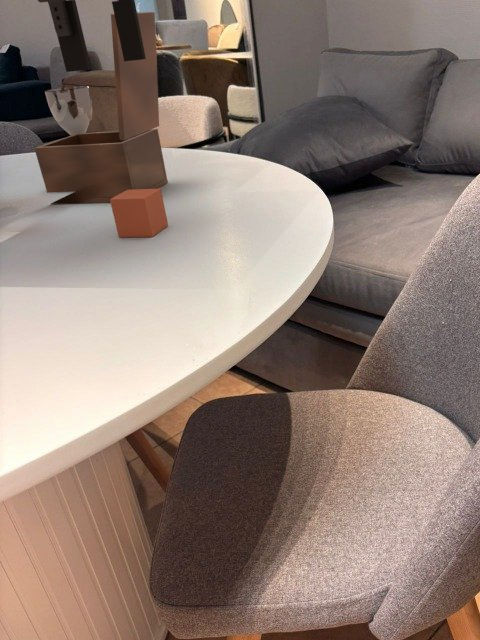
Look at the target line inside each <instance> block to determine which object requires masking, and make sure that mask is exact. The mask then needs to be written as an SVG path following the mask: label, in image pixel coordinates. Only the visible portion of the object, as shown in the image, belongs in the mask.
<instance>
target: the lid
mask: <svg viewBox="0 0 480 640" xmlns="http://www.w3.org/2000/svg"><path fill="white" fill-rule="evenodd" d="M137 16H138V21H139V26H140V31H141V36H142V41H143V46H144V52H145V57H146V59H143V60H133V61H124V58H123V53H122V48H121V44H120V39H119V34H118V29H117V25H116V20H115V15H114V13H110V23H111V36H112V38H111V39H112V52H113V64H114V65H113V66H114V81H115V94H116V95H115V96H116V109H117V122H118V131H119V138H120V140H126V139H129V138H131V137H134V136H136V135H138V134H141V133H143V132H146V131H148V130H151V129H157V128H158V127H160V115H159V114H160V111H159V109H160V108H159V86H158V83H159V82H158V62H157V61H158V59H157V30H156V12H155V11H142V12H141V11H140V12H137Z"/></svg>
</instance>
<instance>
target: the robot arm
mask: <svg viewBox="0 0 480 640" xmlns="http://www.w3.org/2000/svg"><path fill="white" fill-rule="evenodd" d="M37 2H38V3H47V4H48V8H49V11H50V15H51V19H52V23H53V27H54V32H55V33H56V36H57V41H58V44H59V49H60V53H61V56H62V60H63V64H64V68H65V71H66V73H70V72H71V73H72V72H80V71H89V70H92V66H91V62H90V57H89V53H88V48H87V45H86V39H85V35H84V30H83V27H82V23H81V19H80V14H79V10H78V5H77V2H76V0H37ZM111 6H112V10H113V14H114V15H115V20H116V25H117V29H118V34H119V39H120V44H121V48H122V53H123V58H124V61H133V60H143V59H146V57H145V52H144V46H143V41H142V36H141V31H140V26H139V21H138V16H137V13H138V12H137V11H138V10H137V5H136V0H113V1H111Z"/></svg>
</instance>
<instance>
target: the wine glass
mask: <svg viewBox="0 0 480 640" xmlns="http://www.w3.org/2000/svg"><path fill="white" fill-rule="evenodd" d="M44 94H45V98H46V102H47V104H48V108H49V110H50V112H51V115H52V117H53V118H54V121H55V123H57V125H58V126H59V127H60V128H61V129H62V130H63V131H65V132H66V133H68V135H69V136H71V135H74V134H79V133H87V131H88V129H89V127H90V125H91V123H92V121H93V101H92V96H91V91H90V88H89V86H88V85H77V86H66V87H59V88H54V89H48V90H44Z"/></svg>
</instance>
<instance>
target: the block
mask: <svg viewBox="0 0 480 640" xmlns="http://www.w3.org/2000/svg"><path fill="white" fill-rule="evenodd" d="M164 201H165V200H164V197H163V192H162V188H158V189H133V190H126V191H124V192H123V193H121V194H119V195H117V196H115V197H113V198H112V199H110V207H111V211H112V215H113V220H114V223H115V228H116V231H117V236H118V238H153V237H155V236H156V235H157V234H159V233H160V232H162V231H163V230H164V229H166V228H168V226H169V222H168V218H167V211H166V207H165V202H164Z"/></svg>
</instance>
